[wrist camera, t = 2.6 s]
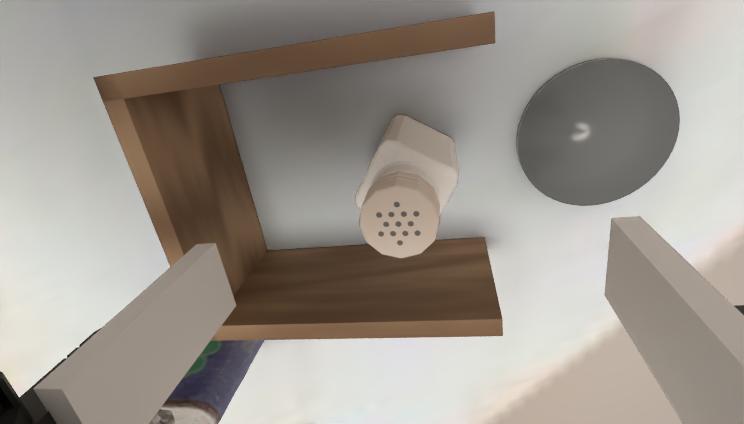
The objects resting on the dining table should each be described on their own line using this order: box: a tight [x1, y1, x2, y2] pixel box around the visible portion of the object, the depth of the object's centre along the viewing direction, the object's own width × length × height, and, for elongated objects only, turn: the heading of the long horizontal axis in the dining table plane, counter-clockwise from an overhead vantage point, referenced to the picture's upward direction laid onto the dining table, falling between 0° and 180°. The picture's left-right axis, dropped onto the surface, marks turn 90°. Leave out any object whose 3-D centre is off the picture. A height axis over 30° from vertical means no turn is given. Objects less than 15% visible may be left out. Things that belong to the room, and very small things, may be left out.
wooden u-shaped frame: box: [93, 12, 503, 341], centre depth 22 cm, size 14×16×8 cm
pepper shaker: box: [355, 115, 458, 258], centre depth 20 cm, size 4×4×10 cm
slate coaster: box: [516, 58, 680, 206], centre depth 22 cm, size 8×8×1 cm
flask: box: [149, 340, 264, 424], centre depth 28 cm, size 9×3×11 cm, turn 90°
